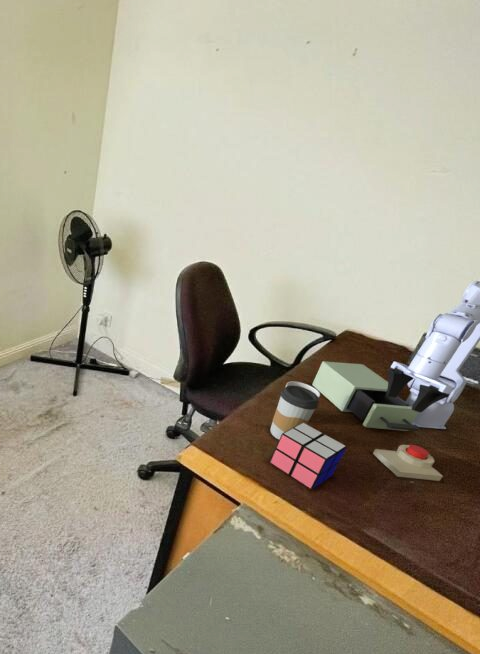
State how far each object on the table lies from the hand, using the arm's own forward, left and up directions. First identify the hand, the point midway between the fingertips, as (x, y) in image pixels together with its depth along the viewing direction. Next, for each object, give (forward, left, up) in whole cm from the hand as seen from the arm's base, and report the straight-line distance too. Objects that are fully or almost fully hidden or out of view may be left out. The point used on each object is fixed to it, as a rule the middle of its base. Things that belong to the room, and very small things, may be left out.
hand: (403, 403), depth 110 cm
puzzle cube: (+29, +13, -14) cm, 35 cm away
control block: (0, +8, -14) cm, 17 cm away
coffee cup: (+26, 0, -14) cm, 30 cm away
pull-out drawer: (-6, -11, -13) cm, 18 cm away
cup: (+18, -10, -14) cm, 25 cm away
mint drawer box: (-6, -22, -14) cm, 27 cm away
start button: (-3, +7, -11) cm, 13 cm away
